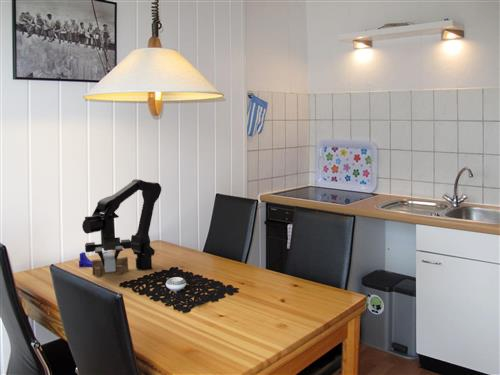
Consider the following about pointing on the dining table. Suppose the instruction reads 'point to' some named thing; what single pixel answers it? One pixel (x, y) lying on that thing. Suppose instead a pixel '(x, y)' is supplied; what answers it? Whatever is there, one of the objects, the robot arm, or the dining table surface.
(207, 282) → the dining table surface
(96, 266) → the brown wooden bridge block
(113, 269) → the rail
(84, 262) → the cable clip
